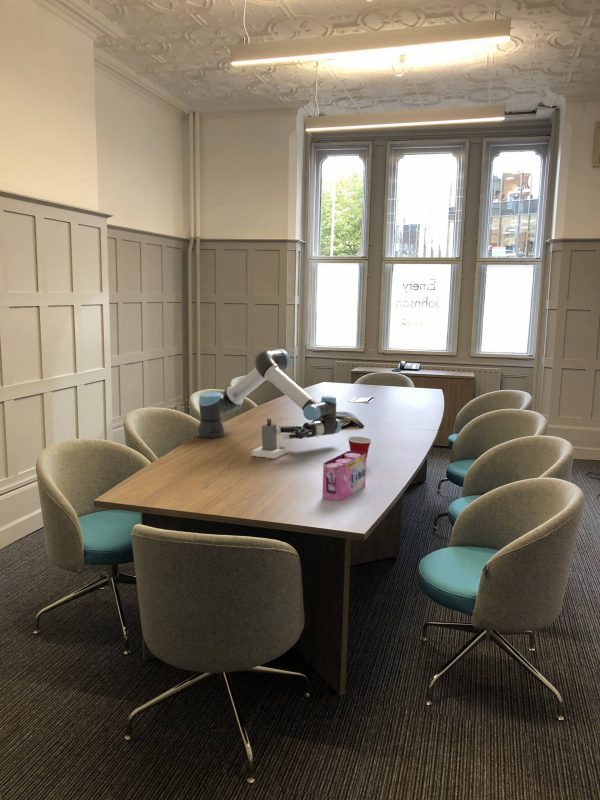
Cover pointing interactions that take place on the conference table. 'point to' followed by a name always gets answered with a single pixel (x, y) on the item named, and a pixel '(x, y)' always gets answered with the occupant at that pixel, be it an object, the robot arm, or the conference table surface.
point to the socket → (269, 452)
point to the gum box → (344, 475)
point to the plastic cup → (359, 444)
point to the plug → (269, 436)
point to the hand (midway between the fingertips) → (275, 434)
